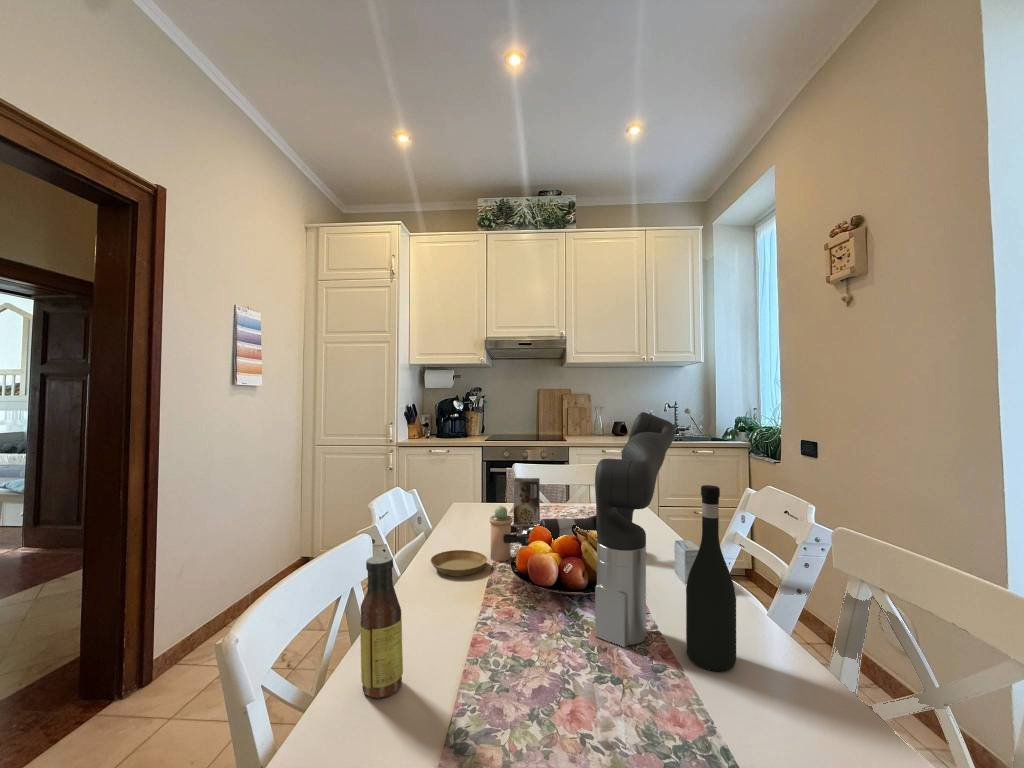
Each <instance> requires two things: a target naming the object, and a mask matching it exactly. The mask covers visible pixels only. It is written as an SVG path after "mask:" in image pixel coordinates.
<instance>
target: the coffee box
mask: <svg viewBox="0 0 1024 768" xmlns="http://www.w3.org/2000/svg"><path fill="white" fill-rule="evenodd" d="M540 479H541V478H539V477H538V478H537V477H514V480H513V483H512V486H513V491H512V492H513V523H514V522H533V523H534V525H537V524H540V521H541V514H540V513H541V506H540V503H541V501H540V500H541V499H540V498H541V497H540V495H541V494H540V493H541V492H540V490H541V489H540V485H541V484H540V482H541V481H540Z"/></svg>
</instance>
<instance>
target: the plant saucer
mask: <svg viewBox="0 0 1024 768" xmlns="http://www.w3.org/2000/svg"><path fill="white" fill-rule="evenodd" d="M487 560H488V558H487V556H486V555H485V554H483V553H481V552H478V551H474V550H469V549H468V550H466V549H465V550H464V549H456V550H455V549H454V550H446V551H442V552H439V553H436V554H434V555H433V556H432V557H431V558H430V563H431V565H432V566H433V567H434V568H435V569H436V571H438V572H439V573H440V574H442V575H445V576H449V577H465V576H471V575H473V574H476V573H478V572H479V571H480V570H481V569H482V568H483V567H484V566H485V565H486V563H487Z"/></svg>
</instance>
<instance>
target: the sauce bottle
mask: <svg viewBox="0 0 1024 768" xmlns="http://www.w3.org/2000/svg"><path fill="white" fill-rule="evenodd" d="M365 562H366V563H365V564H366V565H365V568H366V571H367V591H366V594H365V596H364V597H363V600H362V602H361V604H360V623H359V624H360V625H359V626H360V629H359V630H360V633H359V634H360V670H361V673H360V677H361V679H360V680H361V684H362V685H361V686H362V692H363V694H364V695H366V696H368V697H370V698H374V699H380V698H381V699H382V698H386V697H389V696H391V695H393V694H396V692H398V690H399V689H400V688H401V686H402V684H403V681H402V680H403V674H404V673H403V672H404V670H403V669H404V666H403V665H404V663H403V662H404V661H403V660H404V658H403V630H402V629H403V627H402V626H403V624H402V623H403V622H402V621H403V620H402V618H403V617H402V608H401V606H400V603H399V599H398V597H397V593H396V590H395V586H394V581H393V567H394V559H393V557H392V556H391V555H388V554H387V555H386V554H383V555H382V554H380V555H379V554H378V555H375V556H371V557H369V558H367V560H366V561H365Z"/></svg>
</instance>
